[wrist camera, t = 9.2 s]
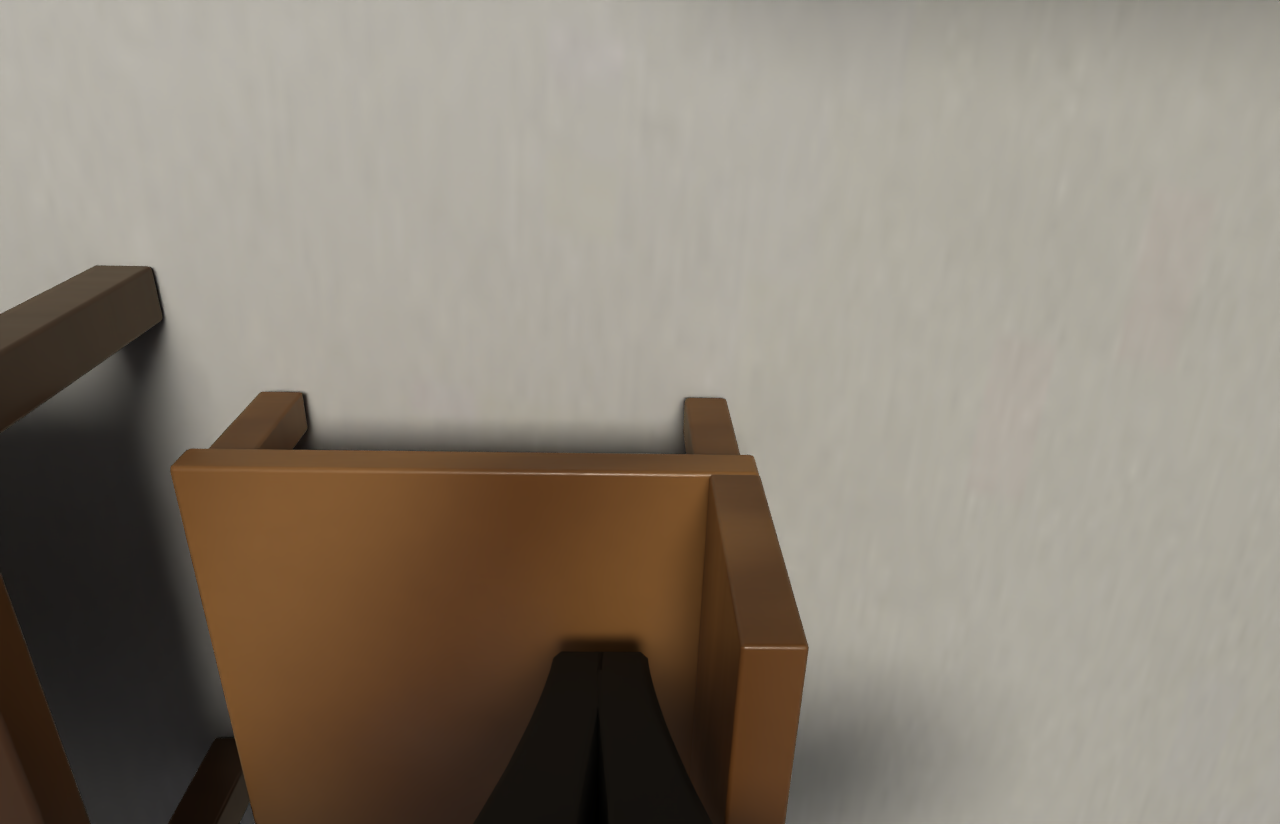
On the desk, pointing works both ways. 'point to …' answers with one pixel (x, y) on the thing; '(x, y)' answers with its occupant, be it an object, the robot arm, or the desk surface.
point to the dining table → (3, 669)
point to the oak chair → (483, 611)
